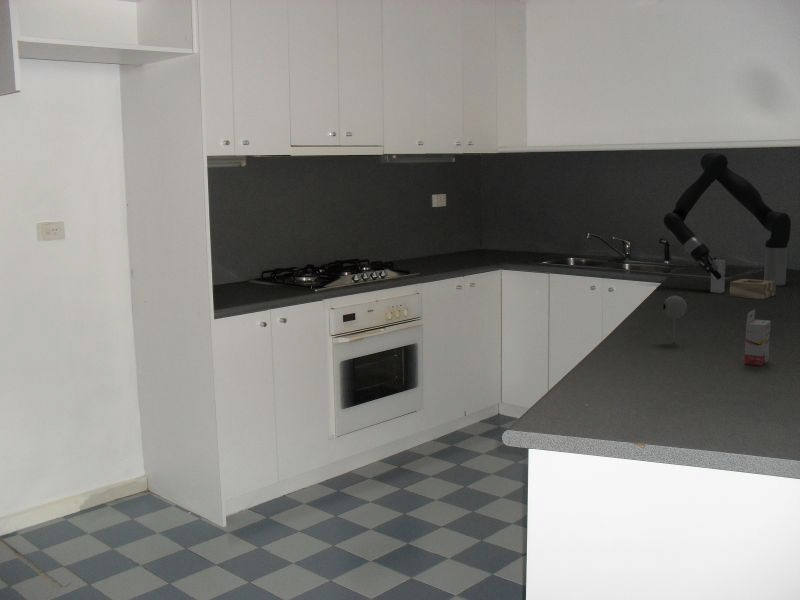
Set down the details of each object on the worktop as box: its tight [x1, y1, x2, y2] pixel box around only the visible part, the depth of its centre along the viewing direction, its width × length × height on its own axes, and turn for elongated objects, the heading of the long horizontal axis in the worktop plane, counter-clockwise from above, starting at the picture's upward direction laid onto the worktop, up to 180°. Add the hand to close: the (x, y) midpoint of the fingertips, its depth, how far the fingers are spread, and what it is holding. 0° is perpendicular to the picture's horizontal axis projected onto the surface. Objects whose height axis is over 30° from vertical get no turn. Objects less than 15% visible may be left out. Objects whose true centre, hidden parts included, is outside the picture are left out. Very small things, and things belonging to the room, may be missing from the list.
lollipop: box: [662, 295, 688, 343], centre depth 281 cm, size 7×7×15 cm
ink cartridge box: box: [744, 309, 772, 367], centre depth 250 cm, size 9×5×15 cm, turn 145°
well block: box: [729, 278, 777, 300], centre depth 376 cm, size 14×14×6 cm
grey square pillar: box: [710, 259, 726, 294], centre depth 387 cm, size 4×4×14 cm
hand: (722, 277), depth 386 cm, fingers closed on grey square pillar, 4 cm apart
